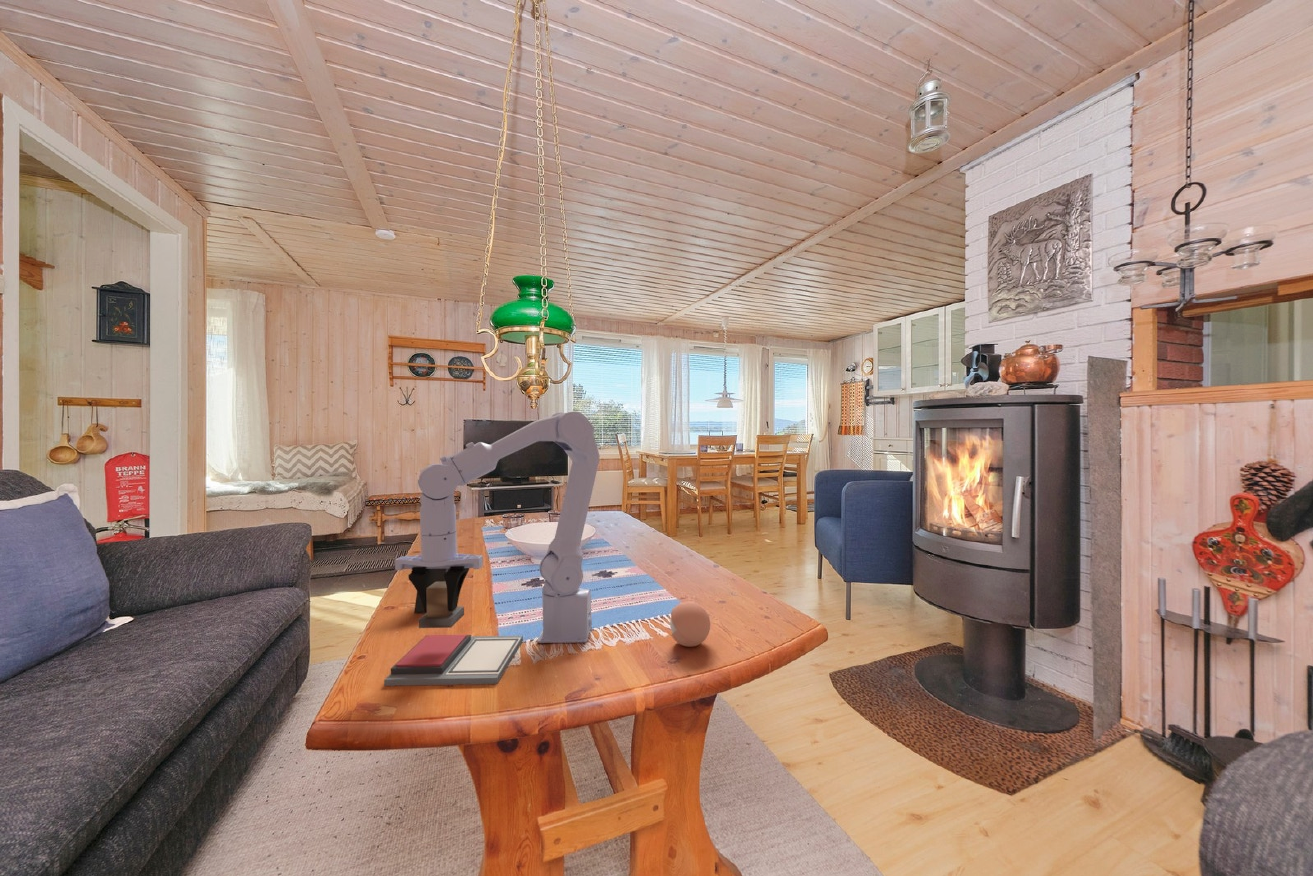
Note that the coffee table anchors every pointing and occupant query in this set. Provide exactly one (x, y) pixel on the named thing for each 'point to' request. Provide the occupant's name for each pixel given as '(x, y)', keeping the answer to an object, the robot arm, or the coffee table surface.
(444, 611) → the stamp
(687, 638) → the toy ball
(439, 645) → the stamp board
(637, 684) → the coffee table surface
